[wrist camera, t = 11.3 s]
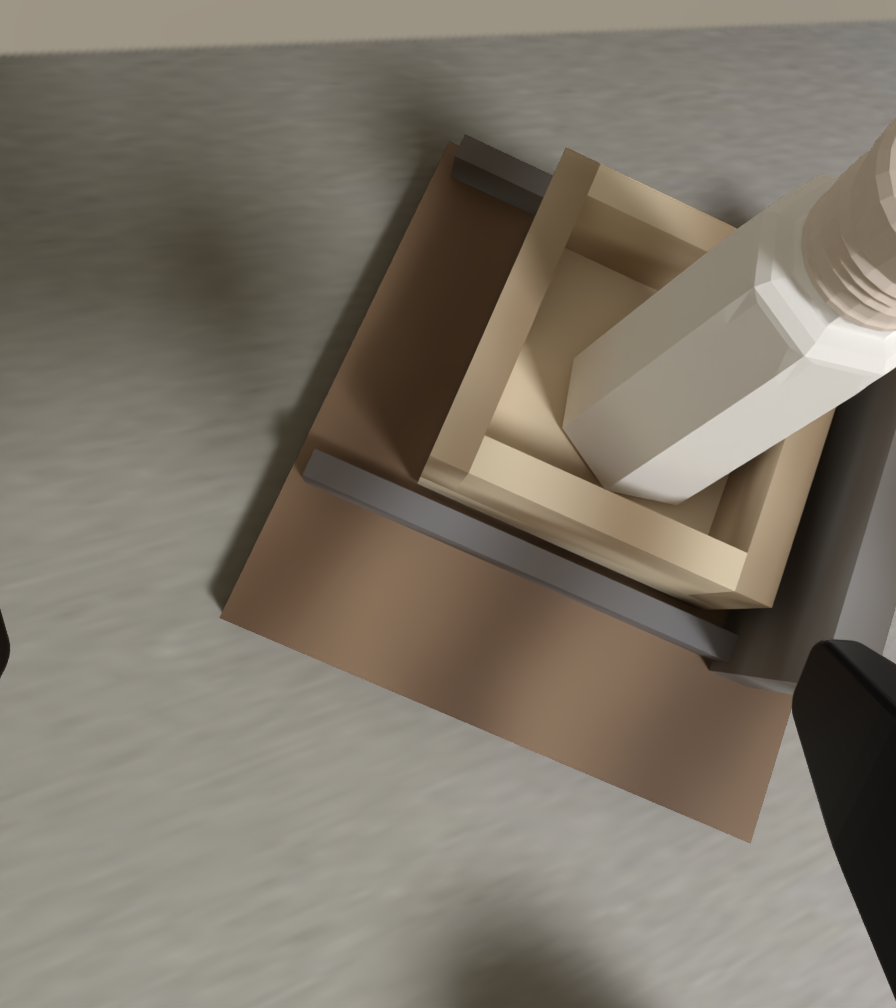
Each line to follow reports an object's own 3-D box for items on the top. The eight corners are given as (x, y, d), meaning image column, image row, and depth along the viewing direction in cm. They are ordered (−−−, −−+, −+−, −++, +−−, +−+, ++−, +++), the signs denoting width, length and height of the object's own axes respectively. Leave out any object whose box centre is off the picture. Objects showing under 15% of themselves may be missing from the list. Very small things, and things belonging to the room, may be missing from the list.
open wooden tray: (225, 618, 20) (172, 617, 14) (445, 161, 23) (475, 5, 17) (731, 833, 21) (878, 915, 15) (877, 363, 24) (1045, 281, 18)
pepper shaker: (538, 338, 20) (748, 13, 9) (713, 311, 21) (1090, -15, 10) (582, 524, 19) (864, 404, 9) (762, 488, 20) (1221, 340, 10)
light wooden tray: (417, 483, 20) (429, 455, 17) (532, 221, 22) (566, 146, 18) (702, 609, 21) (772, 607, 17) (793, 343, 22) (872, 292, 19)
